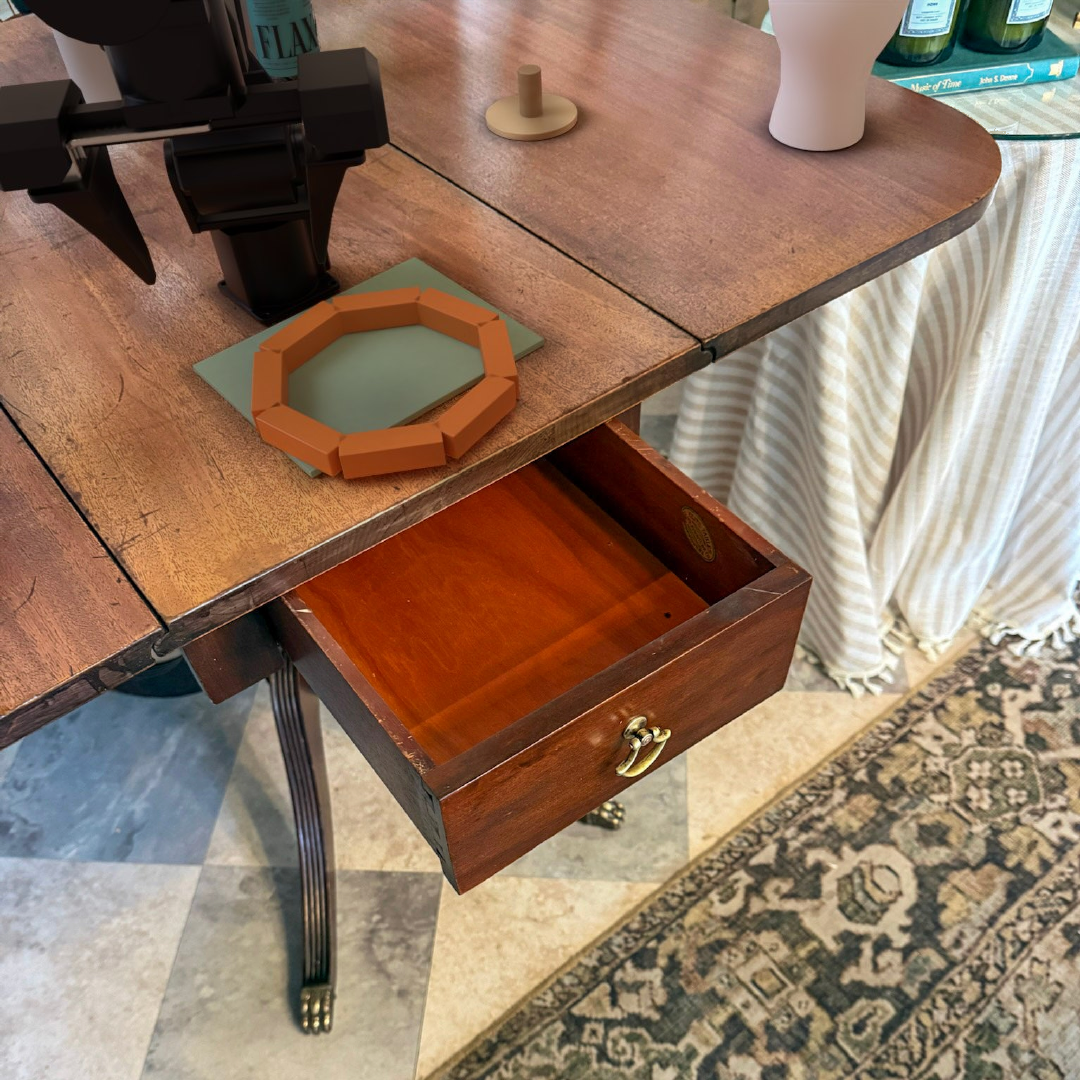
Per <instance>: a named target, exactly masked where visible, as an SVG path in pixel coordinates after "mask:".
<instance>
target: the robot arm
mask: <svg viewBox="0 0 1080 1080" xmlns="http://www.w3.org/2000/svg"><path fill="white" fill-rule="evenodd" d="M21 1H22V2H23V4H24V5H25V6H26V8H28V10H29V11H30V12H31V13H32V14H34V15H35V16H36V17H37V18H38V19H40V20H41V21H42V22H43V23H44V24H45V25H46V26H48V27H50V29H51V28H53V29H55V30H57V31H58V32H60V33H62V34H64V35H65V36H67V37H70V38H73V39H76V40H79V41H82V42H85V43H88V44H95V45H99V47H100V49H101V50H103V51H104V52H106V55H107V58H108V61H109V64H110V66H111V69H112V72H113V75H114V78H115V81H116V84H117V87H118V90H119V92H120V95H121V98H122V100H115V101H106V102H97V103H88V104H86V101H85V99H84V96H83V93H82V91H81V89H80V88H79V87H78V86H77V84H76V83H75V82H74V81H73V80H72V79H70V78H66V79H56V80H48V81H37V82H29V83H20V84H11V85H1V86H0V191H1V192H3V193H8V192H17V191H24V190H26V193H27V196H28V198H29V200H30V201H31V202H32V203H33V204H36V205H44V204H49V205H53V206H54V207H55V208H57V209H58V210H60V211H61V212H62V213H63V214H65V215H66V216H67V217H69V219H71V220H73V221H74V222H75V223H76V224H78V225H79V226H81V227H82V229H84V230H86V231H87V232H88V233H90V234H91V235H92V236H93V237H95V238H96V239H97V240H98V241H99V242H101V243H102V244H103V245H104V246H105V247H106V248H107V249H108V250H109V251H110V252H111V253H112V254H113V255H114V256H115V257H117V258H118V259H119V261H121V262H122V263H123V264H124V265H125V266H126V267H127V268H128V269H129V270H130V271H132V273H134V274H135V275H136V277H138V278H139V279H140V280H141V281H142V282H143V283H144V284H145V285H147V286H155V285H156V281H157V272H156V268H155V265H154V262H153V259H152V256H151V253H150V250H149V247H148V245H147V242H146V241H145V239H144V235H143V234H142V231H141V229H140V227H139V226H138V223H137V221H136V219H135V217H134V215H133V212H132V210H131V208H130V206H129V204H128V201H127V199H126V197H125V195H124V193H123V190H122V189H121V186H120V185H119V182H118V180H117V178H116V177H117V176H116V175H115V170H114V168H113V164H112V160H111V157H110V152H109V148H108V147H109V146H110V147H111V146H117V145H126V144H127V145H128V144H134V143H135V144H136V143H144V142H153V141H160V140H163V144H162V153H163V159H164V166H165V171H166V174H167V177H168V181H169V184H170V187H171V190H172V192H173V194H174V196H175V199H176V201H177V203H178V205H179V207H180V210H181V212H182V214H183V217H184V219H185V221H186V223H187V225H188V227H189V231H190V232H191V234H192V235H199V234H202V233H205V232H209V233H210V237H211V240H212V244H213V246H214V250H215V253H216V256H217V259H218V262H219V266H220V269H221V273H222V276H223V279H221V280H220V281H218V282H217V284H216V285H217V289H218V291H219V292H220V293H221V294H222V295H224V296H225V298H227V299H229V301H231V302H232V303H234V304H235V305H236V306H237V307H239V308H240V309H241V310H242V311H244V312H245V313H246V314H247V315H248V316H250V317H251V318H252V319H253V320H255V321H256V322H257V323H259V324H261V325H263V326H268V325H271V324H273V323H275V322H276V321H279V320H281V319H283V318H285V317H287V316H289V315H291V314H294V313H295V312H298V311H299V310H302V309H303V308H305V307H308V306H310V305H312V304H313V303H316V302H318V301H319V300H322V299H324V298H326V297H328V296H330V295H333V294H334V293H336V292H338V291H340V290H341V288H342V286H341V282H340V280H339V279H338V278H337V277H336V276H333V274H331V273H329V271H330V270H331V268H332V262H331V259H330V255H329V241H330V233H331V229H332V220H333V216H334V215H333V214H334V211H335V206H336V202H337V199H338V197H339V194H340V190H341V187H342V184H343V182H344V178H345V175H346V172H347V170H348V169H349V168H354V167H355V168H356V167H360V166H362V165H364V164H365V163H366V161H367V152H366V150H373V149H380V148H382V147H383V146H385V145H387V144H388V143H390V142H391V138H390V131H389V123H388V117H387V111H386V110H387V109H386V103H385V97H384V91H383V85H382V78H381V77H382V76H381V72H380V65H379V59H378V57H376V56H375V55H374V54H373V53H372V52H370V50H369V49H367V48H366V47H365V46H360V47H349V48H340V49H331V50H324V51H322V50H321V51H320V52H313V53H304V54H297V75H296V76H297V80H287V81H279V82H275V80H274V79H273V78H272V76H270V75H269V74H268V73H267V72H266V70H265V69H264V68H263V66H262V65H261V64H260V62H259V61H258V60H257V57H256V52H255V47H254V42H253V36H252V31H251V25H250V20H249V14H248V9H247V3H246V0H21Z"/></svg>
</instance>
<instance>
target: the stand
mask: <svg viewBox="0 0 1080 1080" xmlns="http://www.w3.org/2000/svg"><path fill="white" fill-rule="evenodd" d="M517 87H518V94H514V95H510V96H506V97H504V98H501V99H499V100H497V101H496V102H494V103H492V104H491V105H490V106H488V109H487V110H486V112H485V117H484V118H485V124H486V127H487V129H488V130H489V131H490V132H491V133H493V134H494V135H497V136H498V137H501V138H503V139H509V140H512V141H513V140H514V141H522V142H523V141H524V142H526V141H527V142H530V141H531V142H532V141H533V142H534V141H542V140H547V139H552V138H555V137H559V136H561V135H563V134H565V133H567V132H569V131H570V130H572V128H574V126H575V125H576V123H577V122H578V108H577V106H576V105H575V104H574V102H572V101H571V100H570V99H568V98H566V97H563V96H560V95H557V94H552V93H545V92H544V93H543V84H542V68H541V66H540V65H537V64H524V65H521V66H519V67H518V68H517Z"/></svg>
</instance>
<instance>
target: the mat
mask: <svg viewBox="0 0 1080 1080" xmlns="http://www.w3.org/2000/svg"><path fill="white" fill-rule="evenodd" d="M417 286H419V287H420V291H421V293H422V292H424V291H425V290H426V289H428V288H429V287H431V288H433V289H436V290H438V291H441V292H444V293H446V294H449V295H451V296H454V297H456V298H459V299H461V300H464V301H467V302H469V303H472V304H474V305H477V306H479V307H482V308H484V309H487V310H490V311H492V312H495V313H497V314H499V320H503V319H504V320H505V323H506V327H507V331H508V335H509V340H510V344H511V348H512V352H513V356H514V360H515V362H517V361H519V360H521V359H522V358H524V357H525V356H528V355H529V354H531V353H532V352H534V351H536V350H537V349H539V348H542V347H543V346H545V339H544V337H542V336H540V335H539V334H537V333H536V332H534V331H532V330H531V329H529V328H528V327H526V326H524V325H523V324H521V323H520V322H518V321H517V320H515V319H513V318H512V317H510V316H509V315H507V314H506V313H504V312H502V311H501V310H499V309H498V308H497V307H494V306H493V305H492V304H491V303H489V302H487V301H485V300H484V299H482V298H480V297H479V296H477V295H476V294H474V293H473V292H471V291H469V290H468V289H467V288H464V287H463V286H462V285H460V284H458V283H457V282H456V281H454V280H452V279H451V278H449V277H447V276H446V275H445V274H442V273H441V272H440V271H438V270H436V269H435V268H433V267H432V266H430V265H429V264H427V263H426V262H424V261H422V260H421V259H419V258H417V257H416V256H413V257H411V258H409V259H407V260H405V261H403V262H400V263H399V264H397V265H394V266H393V267H391V268H388V269H387V270H385V271H382V272H381V273H378V274H376V275H374V276H372V277H370V278H368V279H366V280H364V281H361V282H360V283H358V284H356V285H354V286H352V287H350V288H348V289H345V290H344V291H342V292H340V293H337V294H335V295H333V296H331V297H329V298H327V299H325V300H324V301H325V302H327V303H329V304H332V305H333V300H332V299H333V297H339V296H347V295H355V294H362V293H370V292H378V291H386V290H394V289H402V288H409V287H417ZM316 305H317V304H315V305H313V306H311V307H309V308H307V309H304V310H303V311H301V312H299V313H297V314H295V315H292V316H291V317H289V318H286V319H284V320H282V321H281V322H278V323H276V324H274V325H272V326H270V327H268V328H266V329H264V330H262V331H259V332H258V333H256V334H254V335H251V336H250V337H247V338H245V339H244V340H243V339H242V340H241V341H240V342H237V343H234V344H233V345H231V346H229V347H227V348H225V349H223V350H221V351H218V352H217V353H215V354H213V355H211V356H209V357H206V358H204V359H202V360H201V361H198V362H196V363H195V364H193V365H192V369H193V371H194V373H196V374H197V375H198V376H199V377H200V378H201V379H202V380H203V381H205V382H206V383H207V384H208V385H209V386H210V387H211V388H212V389H213V390H215V391H216V392H217V394H219V395H220V396H221V397H222V398H223V399H225V401H227V402H228V403H229V404H230V405H231V406H232V407H233V408H234V409H235V410H236V411H238V412H239V413H240V414H241V416H243V417H244V418H245V419H246V420H247V421H249V422H250V423H251V424H252V425H253V426H254V427H255V428H256V425H255V422H254V419H253V416H252V413H251V400H252V379H253V359H254V353H255V352H260V349H259V345H260V344H261V343H263V342H264V341H265V340H267V339H268V338H270V337H271V336H273V335H274V334H276V333H277V332H278V331H280V330H281V329H283V328H284V327H286V326H287V325H288V324H290V323H291V322H293V321H294V320H296V319H297V318H298V317H300V316H301V315H303V314H304V313H306V312H307V311H308V310H310V309H311V308H313V307H314V306H316ZM484 378H486V377H485V373H484V368H483V363H482V358H481V353H480V349H479V348H476V347H474V346H471V345H469V344H467V343H464V342H462V341H459V340H457V339H455V338H452V337H450V336H447V335H445V334H442V333H440V332H438V331H435V330H433V329H430V328H428V327H426V326H423V325H421V324H416V325H408V326H400V327H393V328H385V329H377V330H370V331H362V332H354V333H347V334H343V335H342V336H340V337H339V338H338V339H336V340H335V341H334V342H332V343H331V344H330V345H328V346H327V347H325V348H324V349H323V350H321V351H320V352H319V353H317V354H316V355H315V356H313V357H312V358H311V359H309V360H308V361H306V362H305V363H304V364H302V365H301V366H300V367H298V368H297V369H296V370H294V371H293V372H292V373H290V374H289V396H288V407H289V408H291V409H293V410H296V411H298V412H300V413H302V414H304V415H306V416H308V417H310V418H312V419H314V420H316V421H318V422H320V423H322V424H324V425H326V426H328V427H330V428H332V429H334V430H336V431H338V432H340V433H342V434H344V435H345V434H352V433H359V432H366V431H374V430H381V429H388V428H395V427H402V426H407V425H408V424H409V423H412V422H413V421H415V420H416V419H418V418H420V417H422V416H423V415H425V414H427V413H428V412H430V411H432V410H434V409H435V408H437V407H439V406H441V405H442V404H444V403H447V401H449V400H451V399H452V398H455V397H456V396H458V395H460V394H462V393H463V392H465V391H467V390H469V389H470V388H472V387H473V386H476V385H478V384H479V383H480V382H481V381H482V380H483V379H484ZM282 452H283V453H284V454H285V455H286V456H287V457H288V458H289V459H291V461H293V462H294V463H295V464H296V466H298V467H299V468H300V469H301V470H303V472H305V473H306V474H307V475H308V476H309V477H310V478H311V479H314V478H316V477H318V476H319V475H321V474H322V473H324V472H322V471H320V470H319V469H317V468H315V467H313V466H311V465H309V464H307V463H305V462H303V461H301V460H299V459H297V458H296V457H294V456H292V455H290V454H288V453H286V452H284V451H282Z"/></svg>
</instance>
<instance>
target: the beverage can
mask: <svg viewBox="0 0 1080 1080" xmlns="http://www.w3.org/2000/svg"><path fill="white" fill-rule="evenodd" d="M50 29H51V31H52V34H53V37H54V40H55V42H56V45H57V47H58V50H59V53H60V55H61V58H62V60H63V63H64V66H65V69H66V71H67V75H68V77H69V79H72V80H73V81H74V82H75V83H76V84H77V86H78V87H79V88H80V89H81V91H82V93H83V96H84V99H85V101H86V104H88V103H97V102H106V101H115V100H122V98H121V95H120V92H119V90H118V87H117V84H116V81H115V78H114V75H113V72H112V69H111V66H110V64H109V61H108V58H107V55H106V52H104V51H103V50H101V49H100V47H99V45H95V44H88V43H85V42H82V41H79V40H76V39H73V38H70V37H67V36H65V35H64V34H62V33H60V32H58V31H57V30H55V29H53V28H51V27H50Z"/></svg>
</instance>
